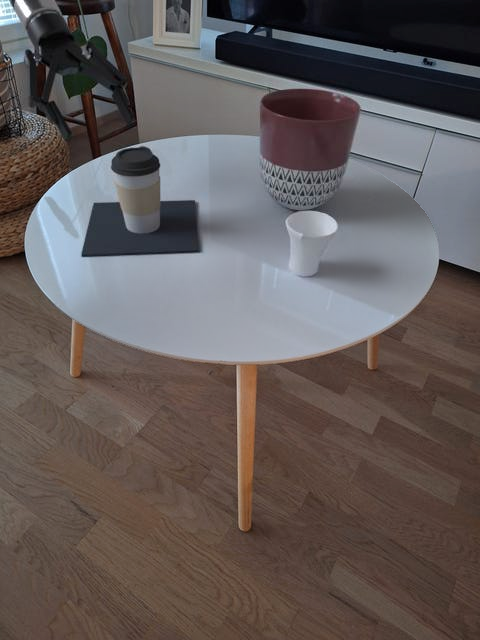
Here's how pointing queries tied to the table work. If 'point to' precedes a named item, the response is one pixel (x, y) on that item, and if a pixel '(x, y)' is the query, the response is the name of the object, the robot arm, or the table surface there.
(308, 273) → the cup
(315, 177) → the planter
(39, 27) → the robot arm
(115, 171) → the coffee cup
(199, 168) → the table surface
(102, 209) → the mat
